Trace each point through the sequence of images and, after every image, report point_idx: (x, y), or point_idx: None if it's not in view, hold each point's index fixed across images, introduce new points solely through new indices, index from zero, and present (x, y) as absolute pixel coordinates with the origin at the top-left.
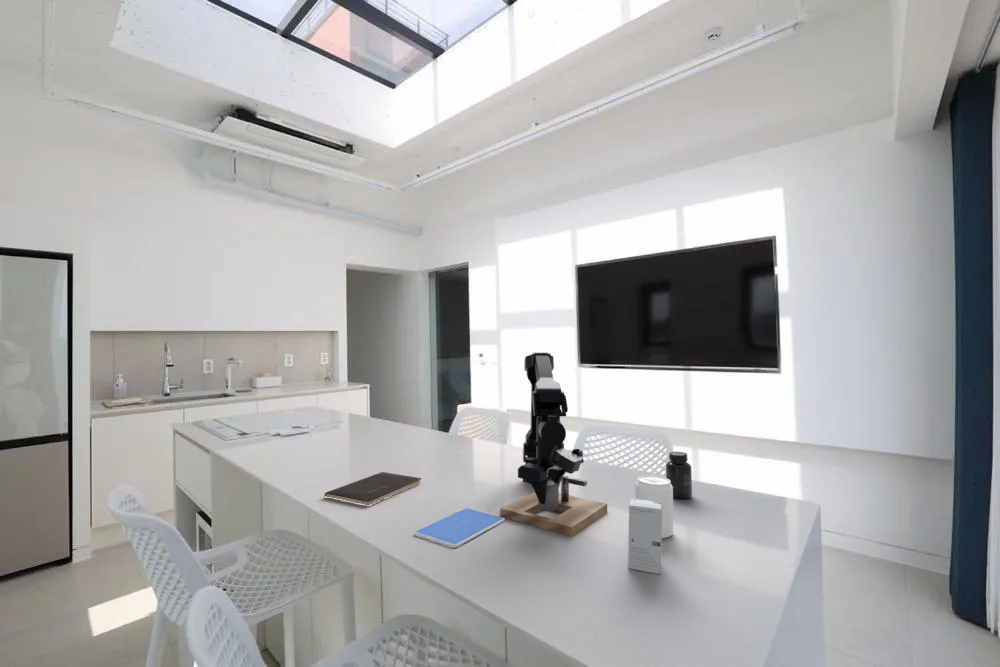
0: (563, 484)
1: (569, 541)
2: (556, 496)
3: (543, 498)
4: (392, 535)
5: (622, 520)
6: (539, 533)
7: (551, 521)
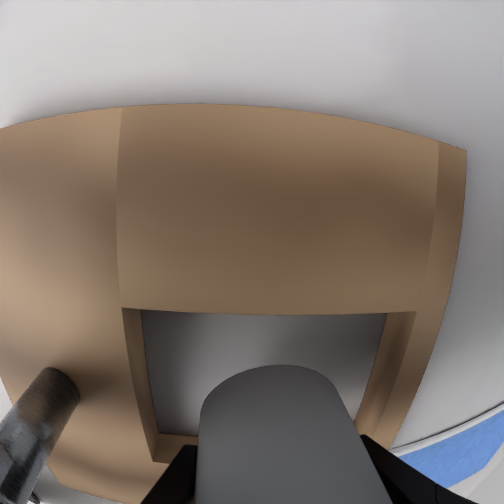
0: (34, 466)
1: (473, 147)
2: (311, 438)
3: (394, 457)
4: (482, 472)
5: (69, 19)
6: (457, 301)
7: (447, 291)
